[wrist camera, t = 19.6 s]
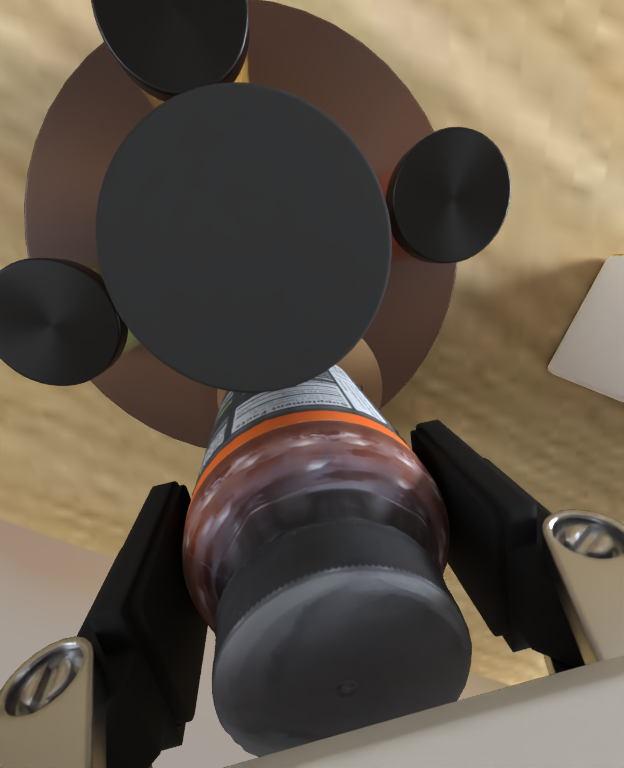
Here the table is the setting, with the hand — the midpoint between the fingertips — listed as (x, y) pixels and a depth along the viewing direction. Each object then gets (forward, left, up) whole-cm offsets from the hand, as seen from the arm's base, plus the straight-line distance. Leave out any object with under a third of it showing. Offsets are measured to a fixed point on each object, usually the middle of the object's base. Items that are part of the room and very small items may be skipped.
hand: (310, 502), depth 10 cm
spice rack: (0, -6, -10) cm, 11 cm away
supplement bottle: (0, 0, -7) cm, 7 cm away
